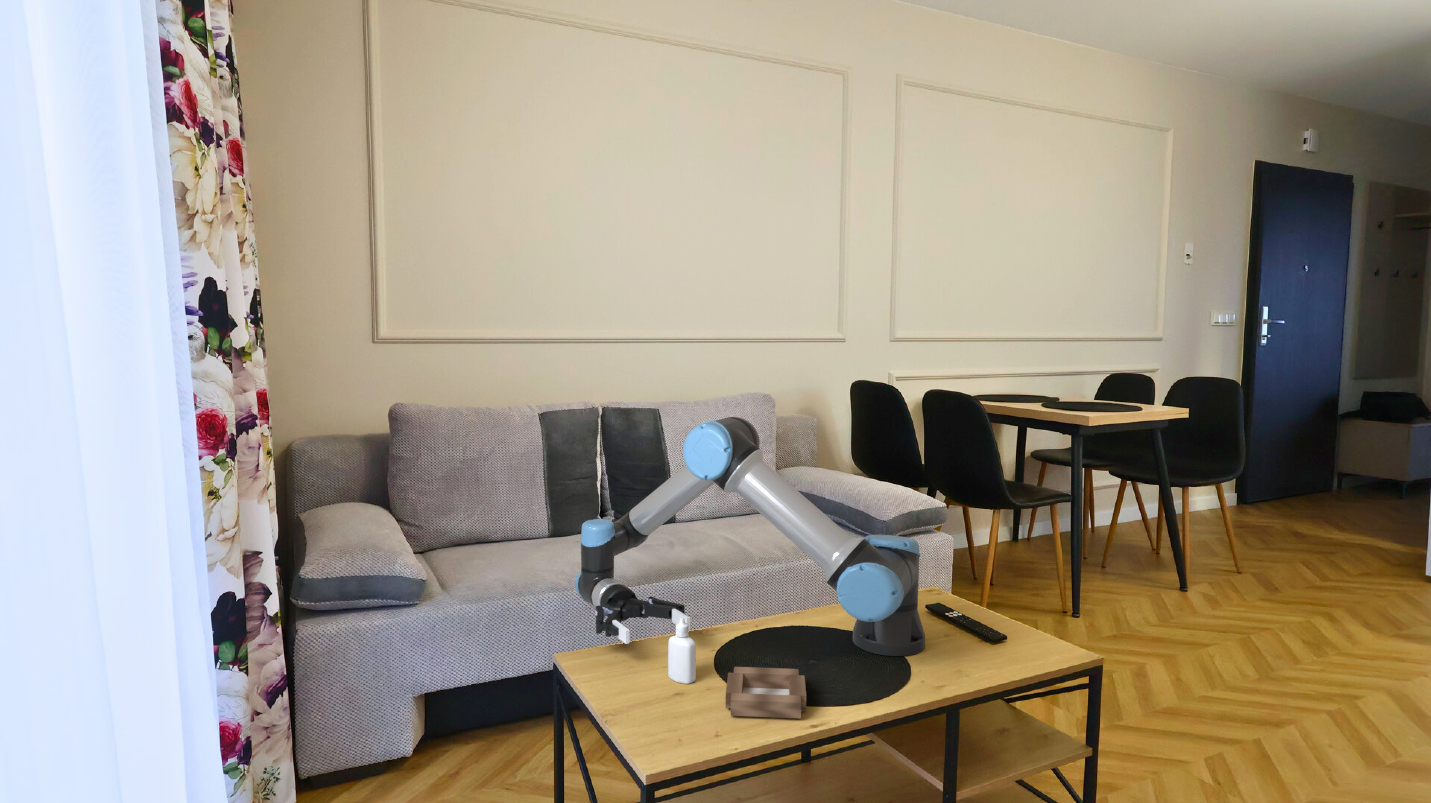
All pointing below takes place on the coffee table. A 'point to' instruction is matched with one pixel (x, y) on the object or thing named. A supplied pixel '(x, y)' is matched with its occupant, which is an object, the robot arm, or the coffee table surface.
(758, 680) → the socket block
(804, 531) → the robot arm
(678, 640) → the eye dropper bottle
